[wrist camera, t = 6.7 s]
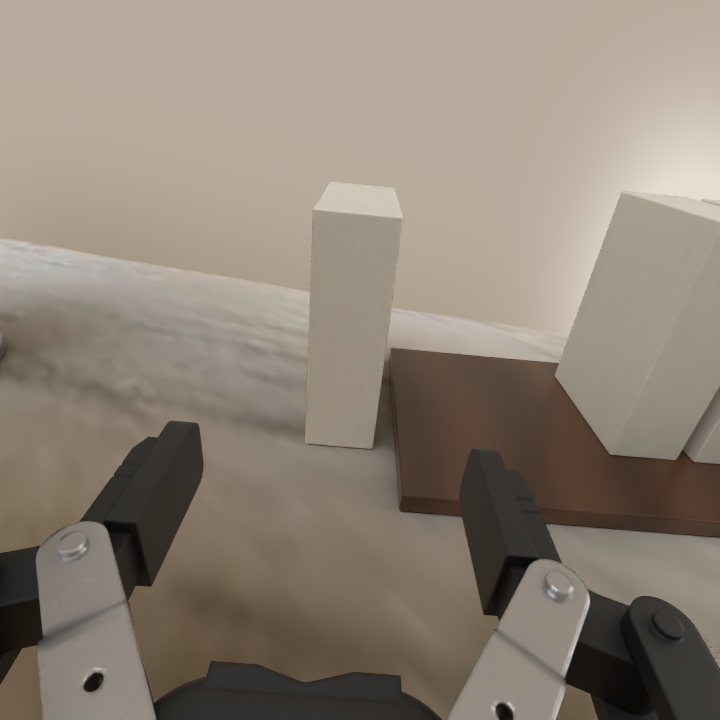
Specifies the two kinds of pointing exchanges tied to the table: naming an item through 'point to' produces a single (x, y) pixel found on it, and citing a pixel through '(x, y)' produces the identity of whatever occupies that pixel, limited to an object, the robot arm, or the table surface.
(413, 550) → the table surface
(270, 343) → the table surface
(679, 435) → the cream rectangular block
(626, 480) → the dark wood bookend
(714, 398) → the white book
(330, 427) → the upright ivory block
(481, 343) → the table surface
